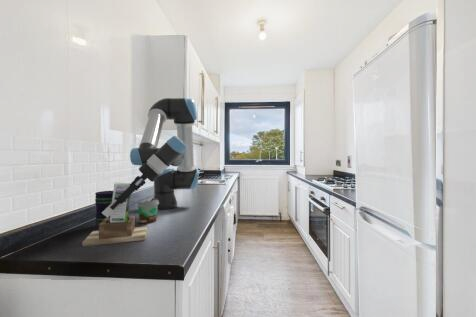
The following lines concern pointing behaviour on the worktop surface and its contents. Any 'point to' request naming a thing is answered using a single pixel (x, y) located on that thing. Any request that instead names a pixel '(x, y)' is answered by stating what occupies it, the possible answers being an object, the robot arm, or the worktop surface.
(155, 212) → the food container
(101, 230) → the box
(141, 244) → the worktop surface
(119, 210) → the syrup box
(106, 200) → the storage jar
